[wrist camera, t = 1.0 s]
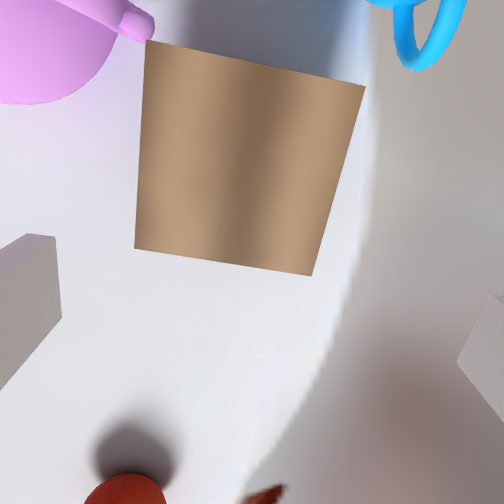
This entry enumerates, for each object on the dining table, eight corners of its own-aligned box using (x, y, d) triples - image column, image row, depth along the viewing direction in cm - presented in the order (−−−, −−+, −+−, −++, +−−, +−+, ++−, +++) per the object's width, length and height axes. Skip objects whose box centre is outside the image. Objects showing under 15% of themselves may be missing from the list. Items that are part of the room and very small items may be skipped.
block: (146, 231, 24) (134, 248, 21) (159, 47, 19) (145, 39, 17) (303, 256, 25) (311, 276, 22) (349, 88, 20) (365, 86, 18)
